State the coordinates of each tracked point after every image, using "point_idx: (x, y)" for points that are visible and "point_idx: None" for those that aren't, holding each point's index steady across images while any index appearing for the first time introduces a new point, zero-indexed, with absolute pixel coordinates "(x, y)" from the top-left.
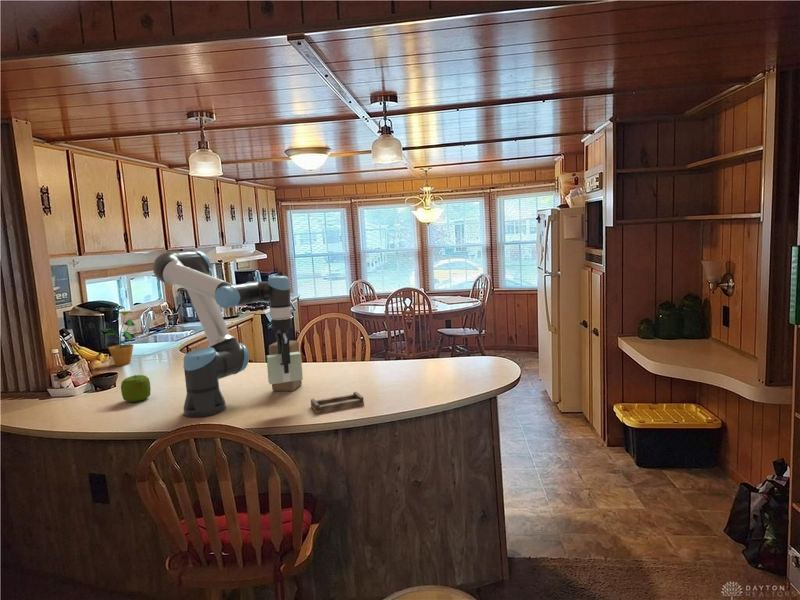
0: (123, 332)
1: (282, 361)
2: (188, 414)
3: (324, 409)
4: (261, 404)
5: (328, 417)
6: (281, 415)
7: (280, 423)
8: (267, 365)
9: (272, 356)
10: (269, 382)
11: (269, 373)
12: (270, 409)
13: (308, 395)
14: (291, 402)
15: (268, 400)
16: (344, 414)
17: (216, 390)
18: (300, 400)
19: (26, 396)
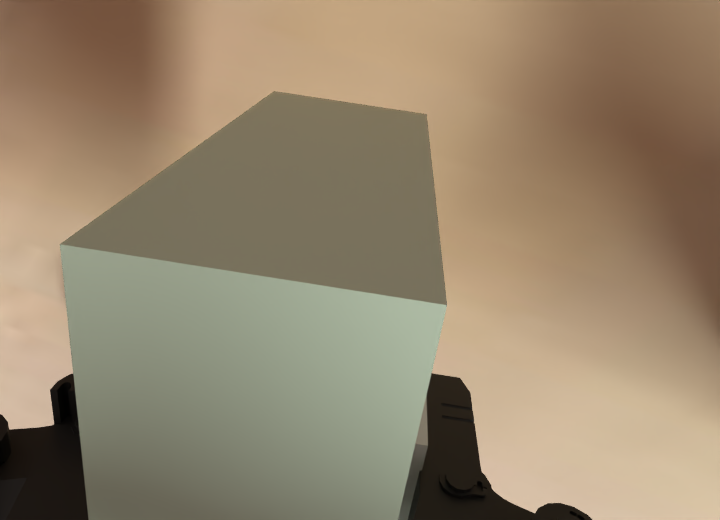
0: None
1: (73, 453)
2: None
3: None
4: (640, 42)
5: (9, 328)
6: (217, 94)
7: (28, 22)
8: (399, 186)
9: (181, 399)
10: (332, 102)
11: (229, 126)
12: (432, 67)
13: (550, 408)
14: (484, 264)
15: (700, 134)
16: (21, 412)
17: None
18: (480, 329)
19: None
